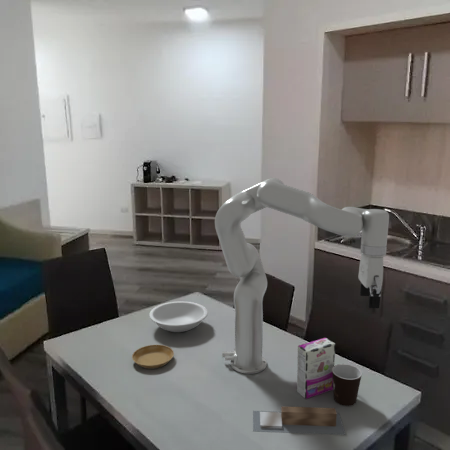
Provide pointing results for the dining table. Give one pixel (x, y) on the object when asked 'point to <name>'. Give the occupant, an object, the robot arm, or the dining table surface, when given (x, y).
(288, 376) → the dining table surface
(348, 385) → the coffee mug
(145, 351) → the plant saucer
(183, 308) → the soup bowl
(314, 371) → the candy bar box
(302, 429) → the mat
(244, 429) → the dining table surface
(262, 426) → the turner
